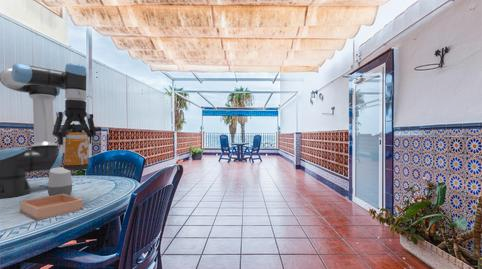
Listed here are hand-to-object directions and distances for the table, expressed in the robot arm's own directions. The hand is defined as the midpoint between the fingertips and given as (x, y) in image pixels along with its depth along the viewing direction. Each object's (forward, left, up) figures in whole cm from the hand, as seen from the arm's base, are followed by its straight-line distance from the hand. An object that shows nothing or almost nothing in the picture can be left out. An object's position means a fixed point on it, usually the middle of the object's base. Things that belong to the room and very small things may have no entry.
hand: (75, 151), depth 104 cm
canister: (0, 0, -8) cm, 8 cm away
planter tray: (+1, -9, -23) cm, 25 cm away
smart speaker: (-20, +2, -23) cm, 31 cm away
